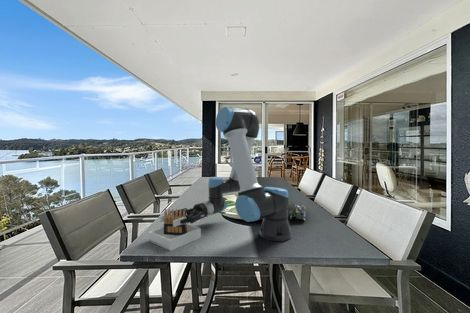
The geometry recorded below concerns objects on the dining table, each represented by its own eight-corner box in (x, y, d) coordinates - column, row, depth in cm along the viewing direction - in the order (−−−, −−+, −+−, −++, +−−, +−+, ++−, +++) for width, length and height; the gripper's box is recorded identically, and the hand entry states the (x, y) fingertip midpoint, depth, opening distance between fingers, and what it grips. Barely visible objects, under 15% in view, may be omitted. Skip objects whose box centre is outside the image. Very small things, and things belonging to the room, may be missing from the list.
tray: (201, 237, 119) (200, 228, 119) (170, 250, 106) (170, 240, 105) (179, 230, 129) (179, 221, 129) (148, 241, 115) (148, 231, 115)
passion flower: (303, 229, 145) (310, 216, 138) (284, 226, 145) (291, 213, 137) (300, 213, 154) (307, 200, 146) (283, 210, 153) (289, 197, 146)
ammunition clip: (163, 234, 117) (162, 208, 116) (165, 233, 119) (164, 207, 118) (185, 235, 116) (185, 209, 115) (187, 234, 117) (186, 208, 116)
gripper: (218, 221, 124) (182, 235, 107) (188, 213, 138) (152, 224, 120) (218, 206, 124) (182, 217, 106) (188, 199, 137) (152, 209, 119)
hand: (166, 221), depth 113 cm, fingers closed on ammunition clip, 9 cm apart
